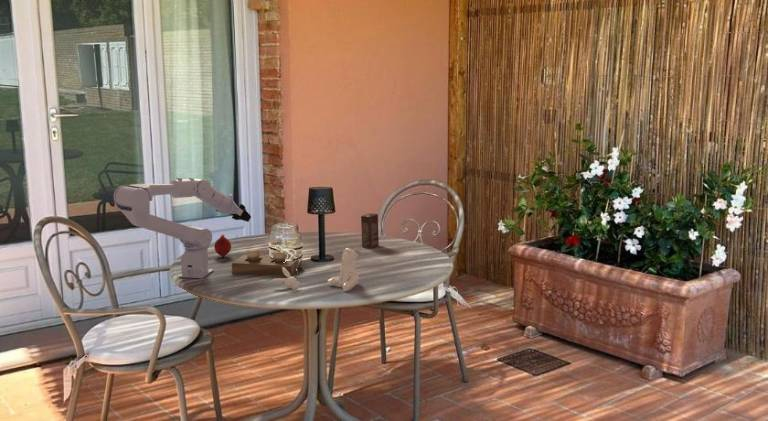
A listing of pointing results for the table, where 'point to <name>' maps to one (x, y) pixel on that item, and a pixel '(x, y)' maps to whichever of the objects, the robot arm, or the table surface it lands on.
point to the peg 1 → (253, 255)
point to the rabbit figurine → (287, 280)
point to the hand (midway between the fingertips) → (242, 215)
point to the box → (369, 230)
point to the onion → (222, 246)
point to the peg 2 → (278, 257)
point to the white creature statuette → (346, 272)
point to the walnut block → (263, 266)
